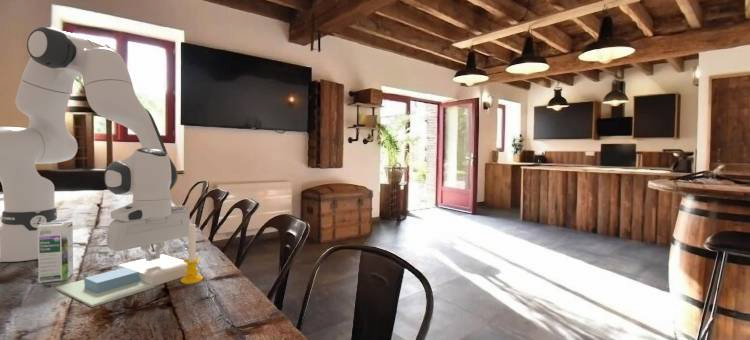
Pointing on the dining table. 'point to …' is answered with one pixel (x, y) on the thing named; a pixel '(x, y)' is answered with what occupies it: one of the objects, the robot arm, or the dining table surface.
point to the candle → (192, 259)
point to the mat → (96, 299)
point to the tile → (111, 280)
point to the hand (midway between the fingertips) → (152, 259)
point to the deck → (158, 269)
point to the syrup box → (55, 251)
